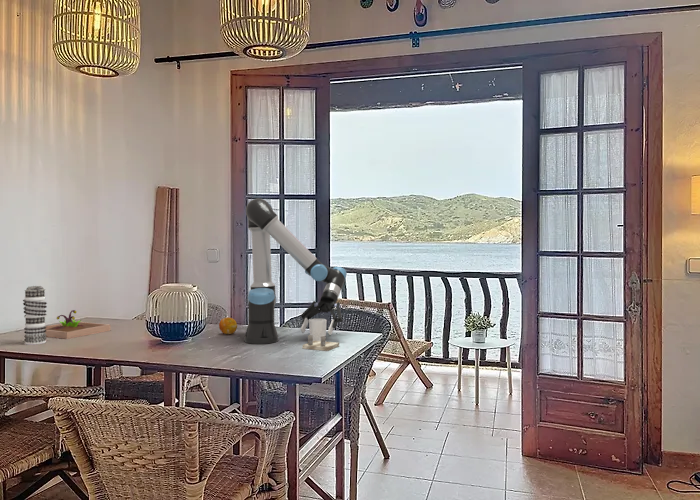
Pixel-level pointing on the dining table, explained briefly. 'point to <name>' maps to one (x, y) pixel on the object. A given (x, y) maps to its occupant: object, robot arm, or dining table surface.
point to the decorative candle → (35, 315)
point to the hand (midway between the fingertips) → (315, 332)
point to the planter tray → (66, 335)
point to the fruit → (228, 325)
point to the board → (319, 344)
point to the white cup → (317, 328)
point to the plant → (69, 324)
